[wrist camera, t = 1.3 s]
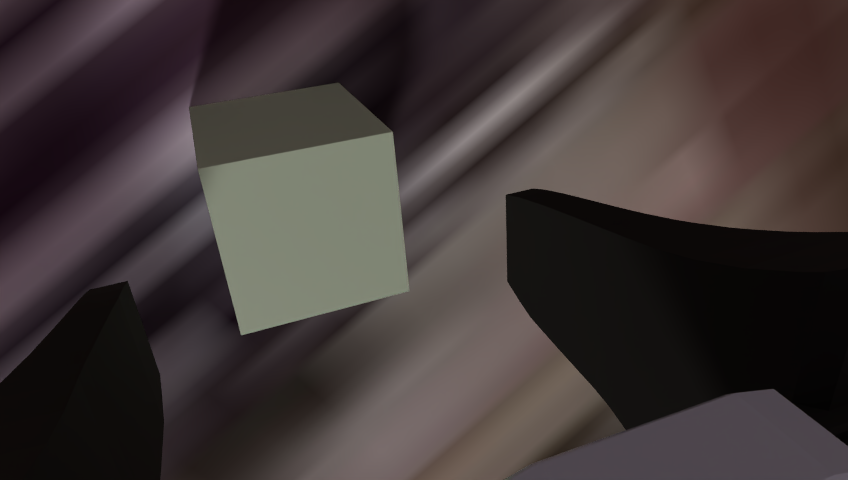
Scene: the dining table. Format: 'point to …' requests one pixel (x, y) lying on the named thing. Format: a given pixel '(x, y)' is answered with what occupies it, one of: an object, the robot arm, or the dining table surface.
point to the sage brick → (301, 203)
